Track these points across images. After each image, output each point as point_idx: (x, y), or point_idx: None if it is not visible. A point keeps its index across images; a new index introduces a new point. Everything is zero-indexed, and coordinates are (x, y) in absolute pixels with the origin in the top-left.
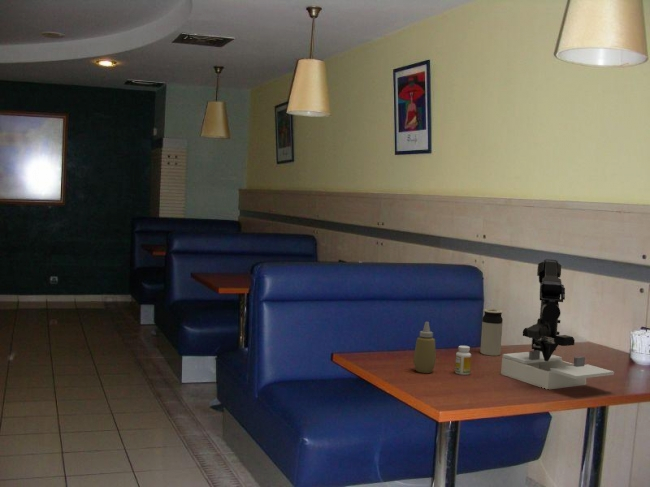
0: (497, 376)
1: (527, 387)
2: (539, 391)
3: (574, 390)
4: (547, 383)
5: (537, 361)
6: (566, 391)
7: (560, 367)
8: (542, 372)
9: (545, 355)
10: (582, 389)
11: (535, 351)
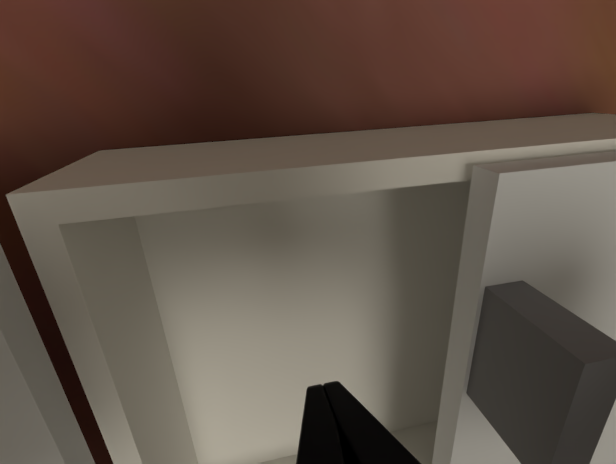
0: (575, 26)
1: (208, 7)
2: (39, 11)
3: (56, 349)
4: (83, 160)
5: (454, 353)
6: (27, 275)
7: (31, 413)
8: (143, 173)
9: (330, 447)
10: (80, 411)
11: (562, 422)
